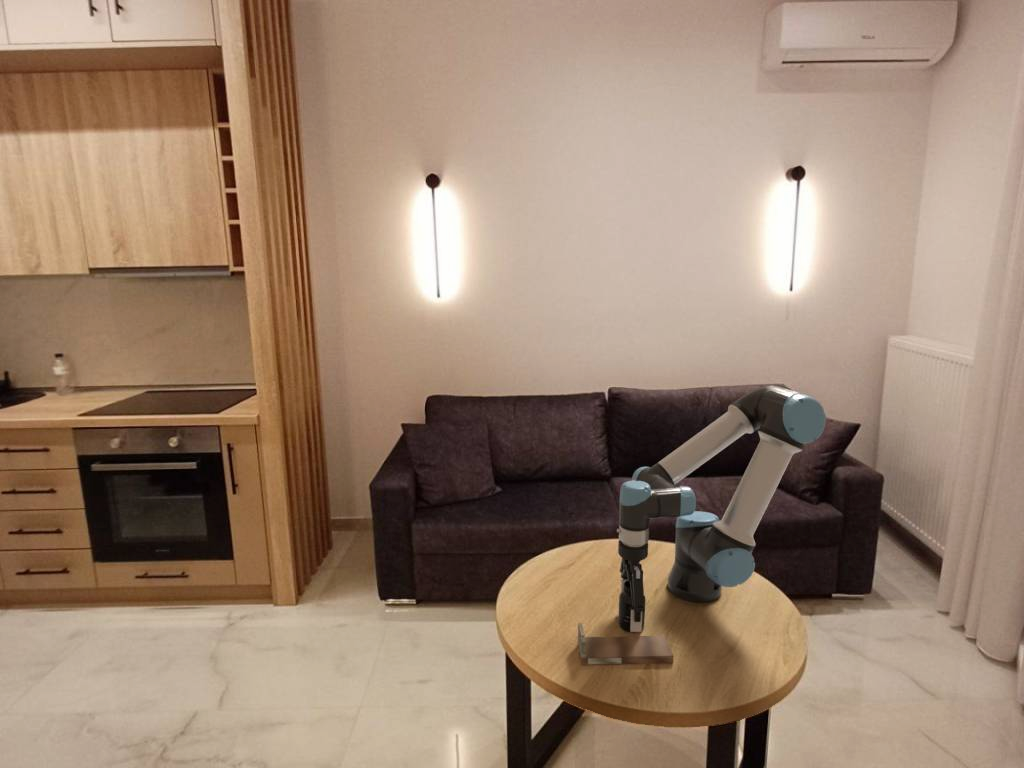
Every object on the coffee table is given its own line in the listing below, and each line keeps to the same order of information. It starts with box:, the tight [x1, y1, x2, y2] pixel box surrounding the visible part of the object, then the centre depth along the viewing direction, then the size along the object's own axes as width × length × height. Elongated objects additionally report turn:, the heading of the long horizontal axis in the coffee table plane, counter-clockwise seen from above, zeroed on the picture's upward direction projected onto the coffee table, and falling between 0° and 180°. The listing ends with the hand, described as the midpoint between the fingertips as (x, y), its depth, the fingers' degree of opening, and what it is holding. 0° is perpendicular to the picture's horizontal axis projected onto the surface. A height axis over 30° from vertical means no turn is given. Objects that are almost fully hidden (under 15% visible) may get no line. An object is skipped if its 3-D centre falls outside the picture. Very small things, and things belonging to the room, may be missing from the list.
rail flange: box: [577, 622, 674, 666], centre depth 150 cm, size 22×8×6 cm, turn 90°
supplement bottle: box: [617, 581, 646, 634], centre depth 161 cm, size 7×7×12 cm
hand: (630, 615), depth 162 cm, fingers open, 13 cm apart
